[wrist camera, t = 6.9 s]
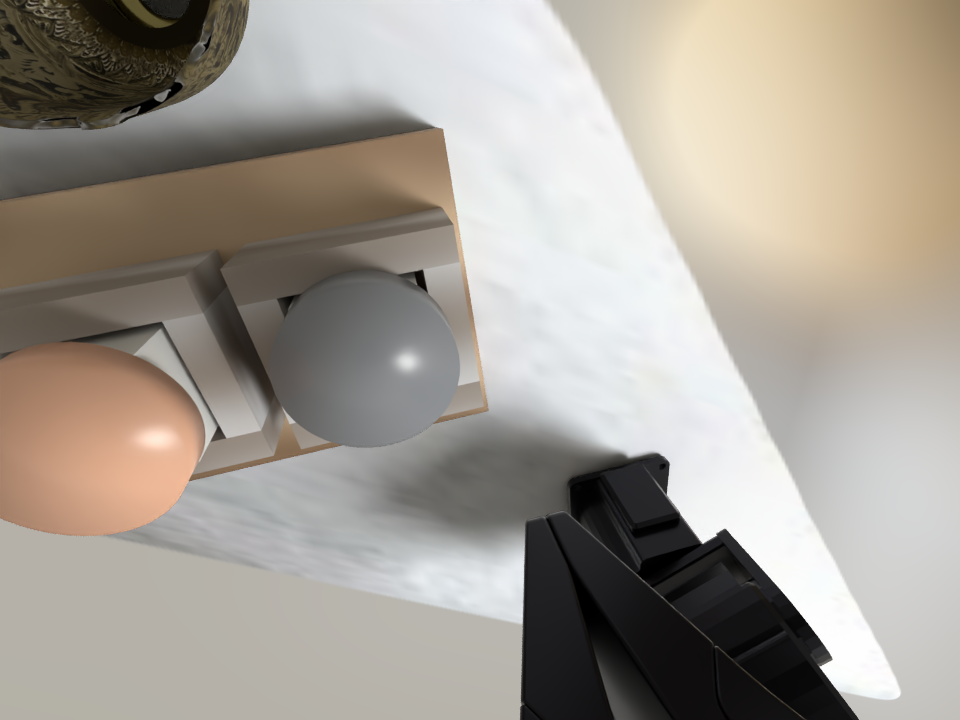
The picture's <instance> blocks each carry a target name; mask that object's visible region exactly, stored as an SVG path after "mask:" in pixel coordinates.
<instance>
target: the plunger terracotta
mask: <svg viewBox="0 0 960 720" xmlns="http://www.w3.org/2000/svg"><path fill="white" fill-rule="evenodd" d="M218 425H219V424H218V422H217V420H216V418H215V417H214V415H213V413H212V411H211V409H210V408H209V406H208V404H207V402H206V400H205V399H204V397H203V395H202V393H201V391H200V390H199V388H198V386H197V384H196V382H195V380H194V379H193V377H192V375H191V373H190V371H189V370H188V368H187V366H186V364H185V362H184V361H183V359H182V357H181V355H180V353H179V352H178V350H177V348H176V346H175V344H174V343H173V341H172V339H171V337H170V335H169V333H168V332H167V330H166V328H165V326H164V324H163V323H162V322H157V323H152V324H147V325H142V326H137V327H132V328H127V329H122V330H117V331H112V332H107V333H102V334H97V335H92V336H86V337H81V338H76V339H71V340H66V341H61V342H53V343H45V344H38V345H34V346H31V347H27V348H23V349H21V350H18V351H16V352H13V353H11V354H9V355H8V356H6V357H4V358H3V359H1V360H0V518H1V519H3V520H6V521H8V522H11V523H14V524H17V525H20V526H23V527H27V528H30V529H34V530H38V531H43V532H48V533H54V534H62V535H74V536H98V535H107V534H114V533H119V532H124V531H128V530H131V529H135V528H138V527H140V526H143V525H145V524H148V523H150V522H152V521H153V520H155V519H157V518H159V517H160V516H161V515H163V514H164V513H166V512H167V511H168V510H169V509H170V508H171V507H172V506H173V505H174V504H175V503H176V502H177V500H178V499H179V497H180V496H181V494H182V492H183V491H184V489H185V487H186V485H187V483H188V481H189V479H190V477H191V475H192V473H193V471H194V469H195V468H196V466H197V464H198V462H200V460H201V458H202V456H203V454H204V452H205V450H206V448H207V447H208V445H209V443H210V441H211V439H212V437H213V435H214V433H215V431H216V429H217V427H218Z"/></svg>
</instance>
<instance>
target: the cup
mask: <svg viewBox="0 0 960 720" xmlns="http://www.w3.org/2000/svg"><path fill="white" fill-rule="evenodd" d="M248 11H249V0H190V3H189V6H188V8H187V10H186V12H185V13H184V15H183V16H182V17H179V18H167V17H163V16H161V15H159V14H157V13H155V12H154V11H152V10H151V9H150V8H149V7H148V6H147V5H146V4H145V3H144V2H143V1H142V0H0V126H3V127H8V128H20V129H59V128H81V127H82V130H92V129H101V128H107V127H111V126H115V125H118V124H120V123H123V122H125V121H126V120H128V119H130V118H133V117H136V116H139V115H143V114H146V113H149V112H152V111H155V110H158V109H161V108H164V107H167V106H170V105H173V104H176V103H178V102H181V101H183V100H185V99H187V98H189V97H191V96H193V95H195V94H197V93H199V92H200V91H202V90H203V89H205V88H206V87H208V86H209V85H210V84H212V83H213V82H214V81H215V80H216V79H217V78H218V77H219V76H220V75H221V74H222V73H223V72H224V71H225V70H226V68H227V67H228V66H229V64H230V63H231V61H232V60H233V58H234V56H235V54H236V53H237V51H238V48H239V46H240V43H241V41H242V38H243V35H244V31H245V28H246V24H247V18H248Z"/></svg>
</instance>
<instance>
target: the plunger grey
mask: <svg viewBox="0 0 960 720" xmlns="http://www.w3.org/2000/svg"><path fill="white" fill-rule="evenodd" d="M269 367H270V378H271V383H272V387H273V390H274V392H275V395H276V397H277V399H278V401H279V402H280V404H281V406H282V407H283V409H284V410H285V411H286V413H287V414H288V415H289V416H290V417H291V418H292V419H293V420H294V421H295V422H296V423H297V424H299V425H300V426H301V427H302V428H304V429H305V430H307V431H308V432H310V433H312V434H313V435H315V436H317V437H320V438H322V439H324V440H327V441H330V442H333V443H336V444H340V445H345V446H351V447H380V446H386V445H391V444H395V443H398V442H401V441H404V440H406V439H409V438H411V437H413V436H415V435H417V434H419V433H421V432H422V431H424V430H425V429H427V428H428V427H429V426H431V425H432V424H433V423H434V422H435V421H436V420H437V419H438V418H439V417H440V416H441V415H442V414H443V413H444V412H445V410H446V409H447V407H448V406H449V404H450V403H451V401H452V399H453V397H454V395H455V392H456V389H457V386H458V382H459V376H460V359H459V353H458V349H457V346H456V342H455V339H454V336H453V333H452V330H451V327H450V325H449V322H448V320H447V318H446V315H445V314H444V312H443V310H442V309H441V307H440V306H439V305H438V303H437V302H436V301H435V300H434V299H433V298H432V297H431V296H430V295H429V294H428V293H427V292H426V291H425V290H423V289H422V288H420V287H419V286H418V285H417V283H416V278H415V274H414V271H413V272H408V273H403V274H398V275H394V274H390V273H386V272H380V271H372V270H357V271H350V272H344V273H340V274H336V275H333V276H331V277H328V278H326V279H323V280H321V281H320V282H318V283H316V284H314V285H313V286H311V287H310V288H309V289H307V290H306V291H305V292H304V293H302V294H297V295H295V296H294V298H293V300H292V302H291V304H290V306H289V309H288V313H287V315H286V317H285V319H284V321H283V323H282V325H281V328H280V330H279V332H278V334H277V336H276V338H275V340H274V343H273V347H272V350H271V355H270V362H269Z"/></svg>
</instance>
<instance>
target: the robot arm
mask: <svg viewBox="0 0 960 720" xmlns="http://www.w3.org/2000/svg"><path fill="white" fill-rule="evenodd" d="M669 466H670V464H669V462H668V460H667V459H666V458H665V457H663V456H659V457H655V458H651V459H647V460H643V461H639V462H635V463H631V464H627V465H623V466H619V467H615V468H612V469H608V470H604V471H600V472H596V473H592V474H588V475H584V476H580V477H576V478H573V479H571V480H570V481H569V482H568V484H567V491H568V509H569V514H568V513H567V512H565V511H559V512H555V513H551V514H548V515H547V516H546V518H545V517H544V516H540V517H536V518H532V519H528V520H527V521H526V524H525V560H524V598H523V637H522V675H521V677H522V678H521V704H522V706H521V707H520V720H859V719H858V717H857V716H856V715H855V713H854V712H853V711H852V709H851V708H850V707H849V706H848V704H847V703H846V702H845V700H844V699H843V698H842V696H841V695H840V694H839V692H838V691H837V690H836V688H835V687H834V686H833V684H832V683H831V682H830V681H829V679H828V678H827V677H826V675H825V674H824V673H823V671H822V670H821V669H820V667H819V666H822V665H824V664H826V663H827V662H829V661H831V660H832V657H831V655H830V653H829V652H828V650H827V649H826V647H825V646H824V644H823V643H822V642H821V640H820V639H819V638H818V636H817V635H816V634H815V632H814V631H813V630H812V628H811V627H810V626H809V624H808V623H807V622H806V621H805V619H804V618H803V617H802V615H801V614H800V613H799V612H798V610H797V609H796V608H795V607H794V606H793V604H792V603H791V602H790V601H789V599H788V598H787V597H786V596H785V595H784V594H783V592H782V591H781V590H780V589H779V588H778V587H777V585H776V584H775V583H774V582H773V581H772V580H771V579H770V578H769V577H768V575H767V574H766V573H765V572H764V571H763V570H762V569H761V568H760V567H759V565H758V564H757V563H756V562H755V561H754V560H753V559H752V558H751V557H750V555H749V554H748V553H747V552H746V551H745V550H744V549H743V548H742V547H741V546H740V544H739V543H738V542H737V541H736V540H735V539H734V538H733V537H732V536H731V534H730V533H729V532H728V531H727V530H726V529H723V530H722V531H720V532H718V533H717V534H716V535H717V536H715V537H714V538H712V539H710V540H709V541H707V542H705V543H704V544H702V542H701V541H700V540H699V538H698V537H697V536H696V534H695V533H694V532H693V530H692V529H691V528H690V526H689V525H688V524H687V522H686V521H685V520H684V518H683V517H682V516H681V514H680V512H679V511H678V509H677V508H676V507H675V506H674V504H673V503H672V502H671V500H670V499H669V498H668V496H667V486H668V476H669ZM575 486H576V487H575Z"/></svg>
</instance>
